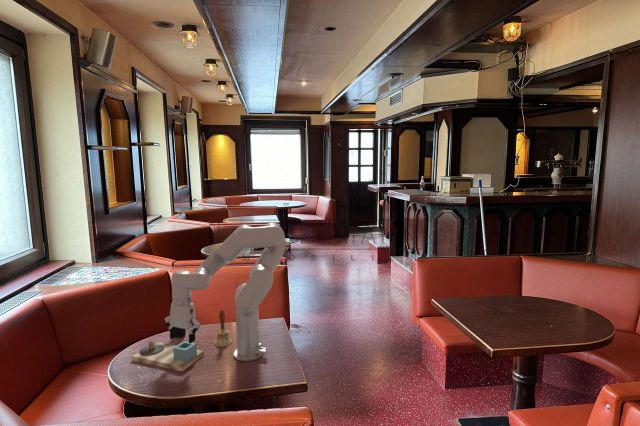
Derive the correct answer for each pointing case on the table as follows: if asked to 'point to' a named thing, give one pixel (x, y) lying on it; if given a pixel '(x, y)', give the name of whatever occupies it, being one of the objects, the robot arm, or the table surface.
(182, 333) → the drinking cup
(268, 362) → the table surface
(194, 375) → the table surface
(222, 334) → the hand bell
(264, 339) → the table surface
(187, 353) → the collar
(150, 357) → the base board
